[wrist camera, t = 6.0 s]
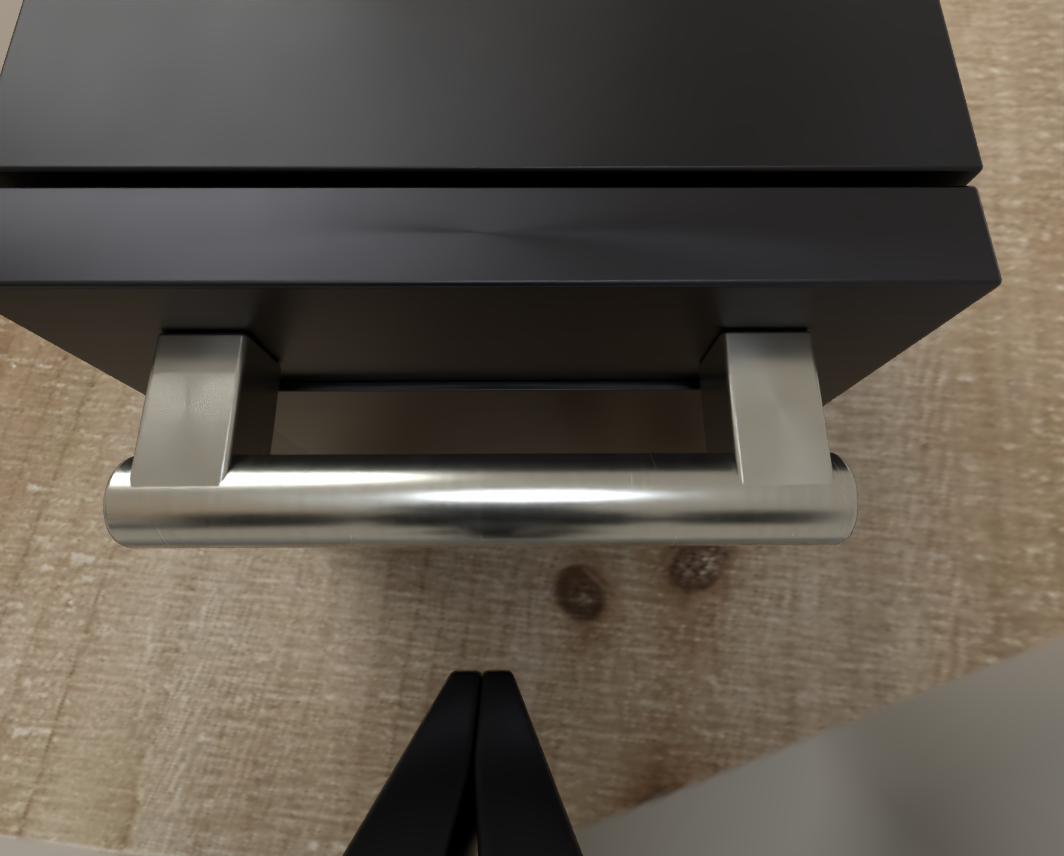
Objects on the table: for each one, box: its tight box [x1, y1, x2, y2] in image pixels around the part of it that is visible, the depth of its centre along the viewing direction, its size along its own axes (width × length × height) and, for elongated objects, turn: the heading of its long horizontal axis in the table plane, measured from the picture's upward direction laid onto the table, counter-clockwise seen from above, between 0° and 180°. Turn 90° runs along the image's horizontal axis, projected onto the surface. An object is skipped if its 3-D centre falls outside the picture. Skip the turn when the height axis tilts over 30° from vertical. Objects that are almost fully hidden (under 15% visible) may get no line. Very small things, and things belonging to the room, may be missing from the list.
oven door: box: [0, 186, 1002, 549], centre depth 14 cm, size 5×14×13 cm, turn 90°
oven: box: [0, 0, 983, 187], centre depth 16 cm, size 15×14×13 cm
